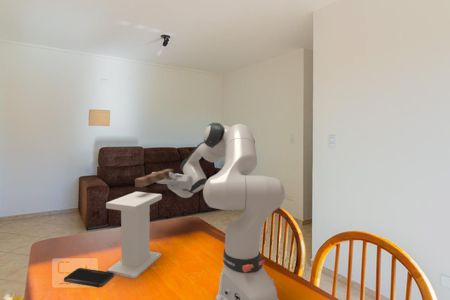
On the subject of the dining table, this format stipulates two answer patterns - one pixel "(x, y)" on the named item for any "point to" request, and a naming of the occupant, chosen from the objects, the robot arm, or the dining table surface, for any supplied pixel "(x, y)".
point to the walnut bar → (152, 178)
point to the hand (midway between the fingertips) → (164, 173)
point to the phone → (89, 277)
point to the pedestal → (134, 233)
